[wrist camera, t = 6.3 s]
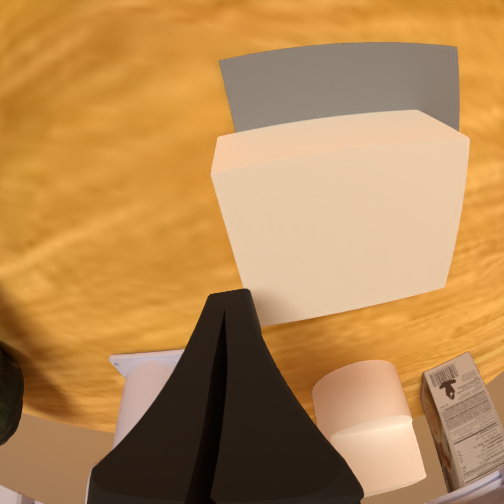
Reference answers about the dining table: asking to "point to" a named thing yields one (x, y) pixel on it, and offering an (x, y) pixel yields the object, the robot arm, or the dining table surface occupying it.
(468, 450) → the coffee box
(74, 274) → the dining table surface
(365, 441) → the cylinder with rectangular tab
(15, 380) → the squash
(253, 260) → the slab
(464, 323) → the dining table surface
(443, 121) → the mat
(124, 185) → the dining table surface
